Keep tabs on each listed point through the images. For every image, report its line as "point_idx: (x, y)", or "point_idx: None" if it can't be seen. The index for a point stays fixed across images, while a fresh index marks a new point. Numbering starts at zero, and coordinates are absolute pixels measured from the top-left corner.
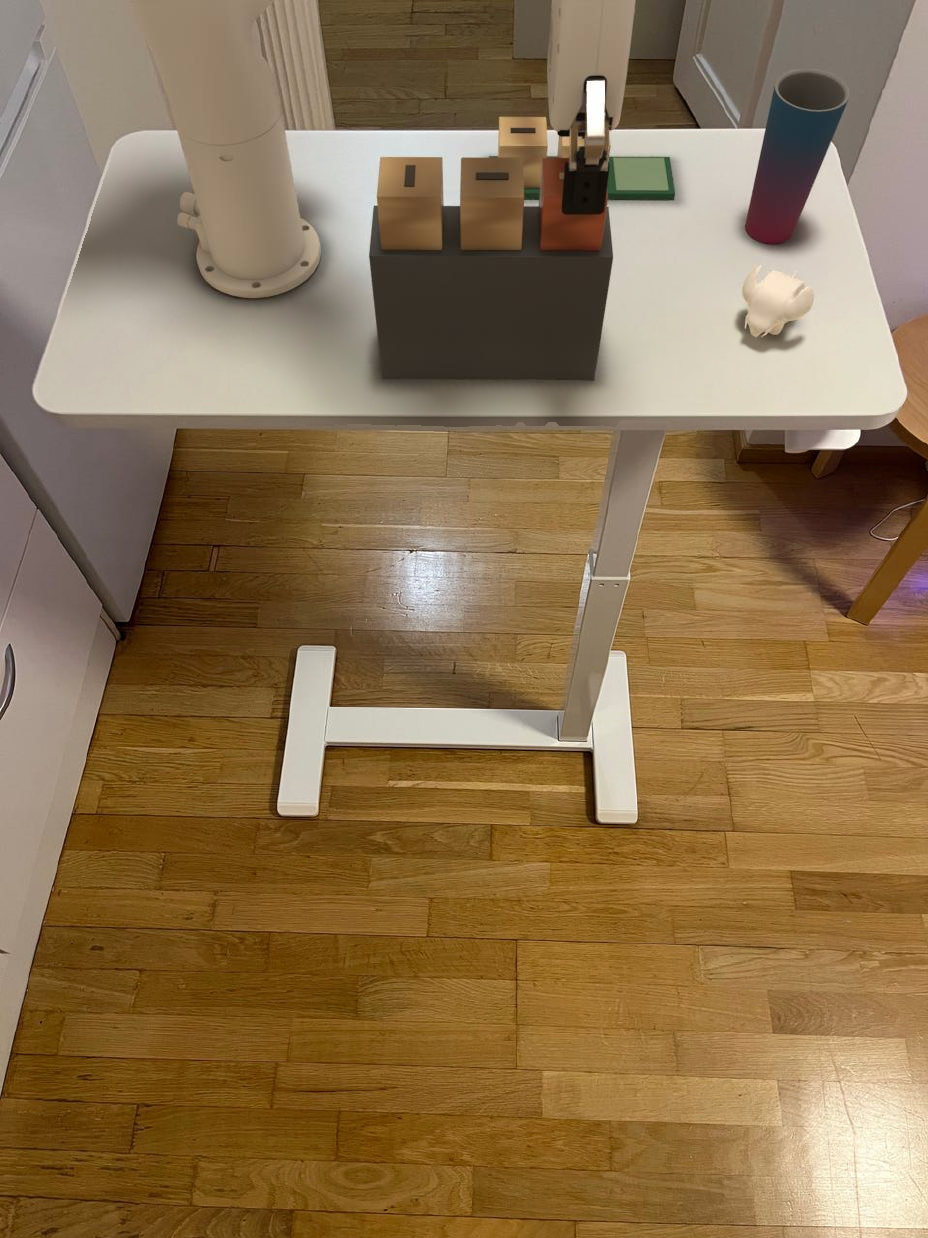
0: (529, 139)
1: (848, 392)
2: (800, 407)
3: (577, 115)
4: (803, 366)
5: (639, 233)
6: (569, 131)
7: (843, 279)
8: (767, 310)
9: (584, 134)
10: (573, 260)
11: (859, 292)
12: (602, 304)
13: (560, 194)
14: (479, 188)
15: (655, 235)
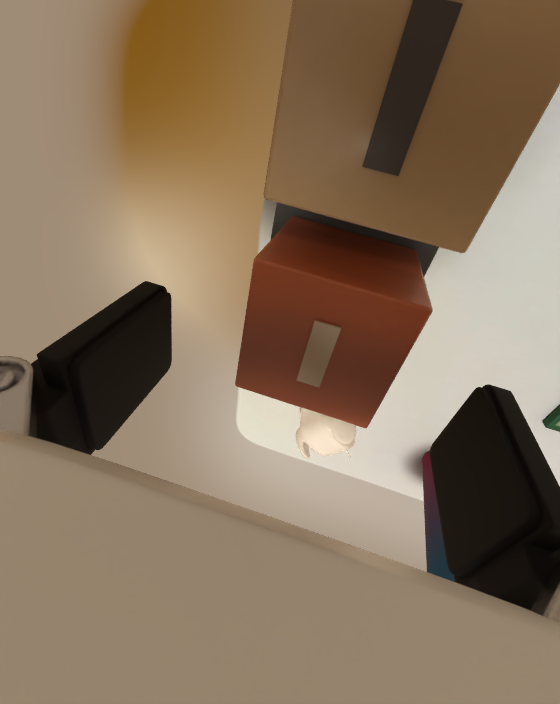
0: None
1: (251, 420)
2: (242, 390)
3: (466, 466)
4: (281, 410)
5: (511, 372)
6: (464, 414)
7: (361, 469)
8: (307, 421)
9: (441, 435)
10: None
11: (344, 470)
12: None
13: (258, 302)
14: (347, 6)
15: (497, 384)
